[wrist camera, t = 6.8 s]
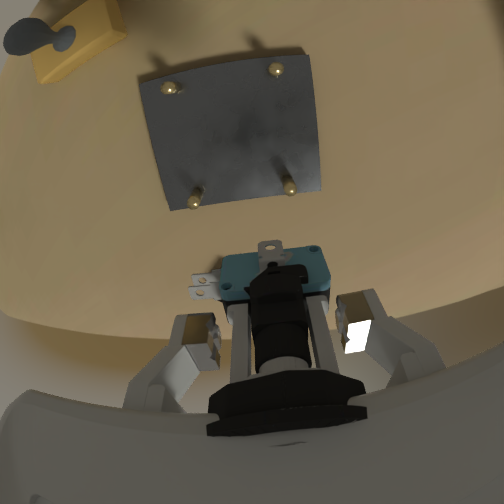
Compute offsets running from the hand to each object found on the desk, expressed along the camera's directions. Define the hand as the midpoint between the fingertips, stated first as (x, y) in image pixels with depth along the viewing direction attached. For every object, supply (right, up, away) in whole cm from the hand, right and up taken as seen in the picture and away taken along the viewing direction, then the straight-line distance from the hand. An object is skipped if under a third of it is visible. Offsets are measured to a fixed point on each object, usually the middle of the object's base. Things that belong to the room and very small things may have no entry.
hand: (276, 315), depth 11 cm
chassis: (-3, +14, +14) cm, 20 cm away
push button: (-1, +2, +3) cm, 4 cm away
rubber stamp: (-19, +25, +7) cm, 32 cm away
